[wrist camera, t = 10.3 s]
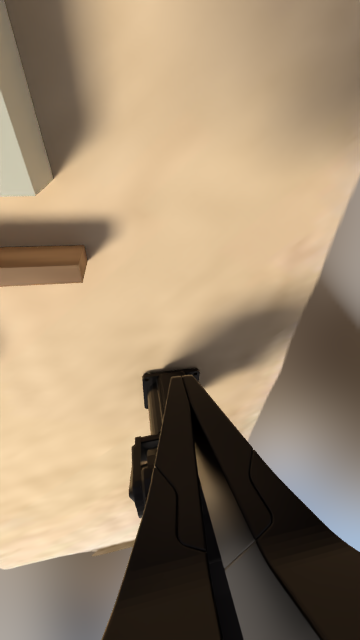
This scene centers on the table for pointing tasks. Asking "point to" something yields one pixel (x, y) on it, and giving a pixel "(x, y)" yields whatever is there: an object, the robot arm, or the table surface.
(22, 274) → the corral
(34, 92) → the table surface
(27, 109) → the t block
